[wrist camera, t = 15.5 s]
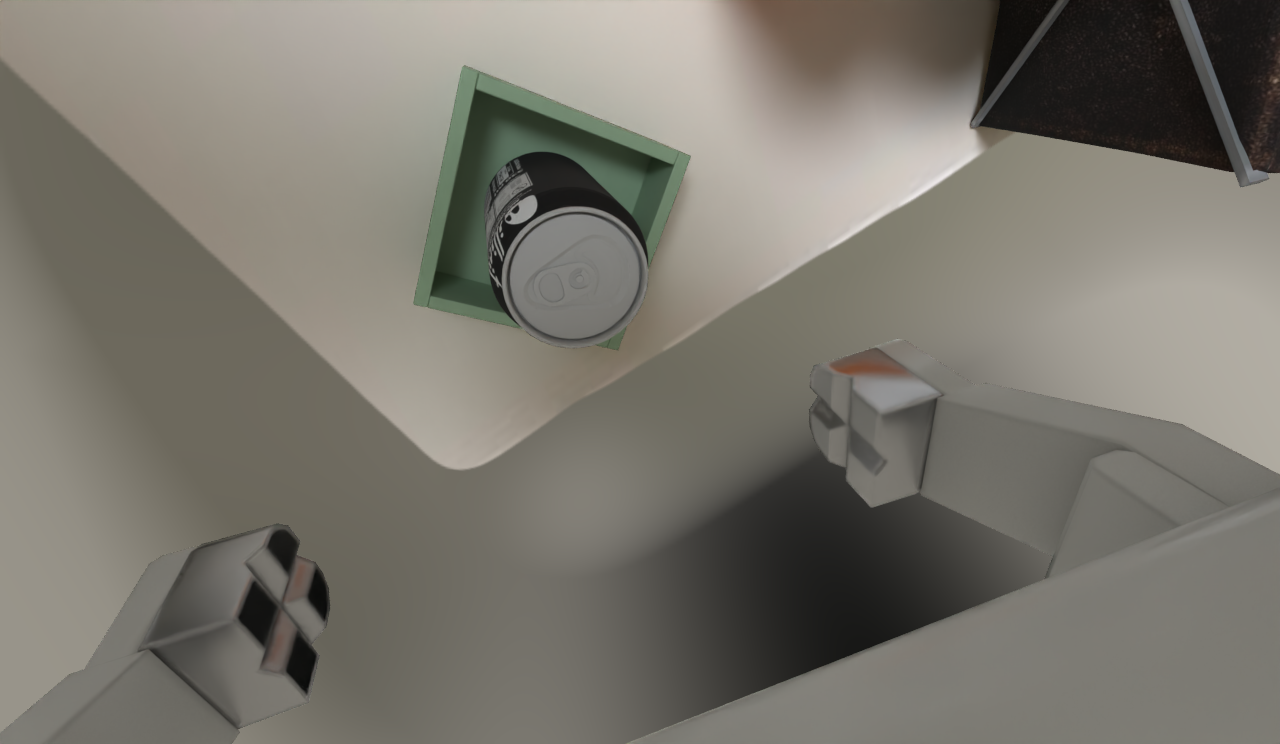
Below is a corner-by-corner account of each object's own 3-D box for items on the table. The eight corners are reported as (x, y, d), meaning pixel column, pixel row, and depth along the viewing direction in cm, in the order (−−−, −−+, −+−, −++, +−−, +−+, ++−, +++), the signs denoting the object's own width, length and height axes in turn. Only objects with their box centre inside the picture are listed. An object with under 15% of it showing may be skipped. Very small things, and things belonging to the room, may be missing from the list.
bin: (419, 275, 32) (412, 304, 28) (463, 64, 27) (462, 65, 24) (602, 319, 36) (617, 350, 32) (664, 144, 32) (691, 156, 28)
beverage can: (612, 246, 33) (673, 328, 23) (508, 280, 33) (525, 379, 23) (581, 134, 30) (638, 172, 20) (464, 169, 29) (461, 227, 19)
